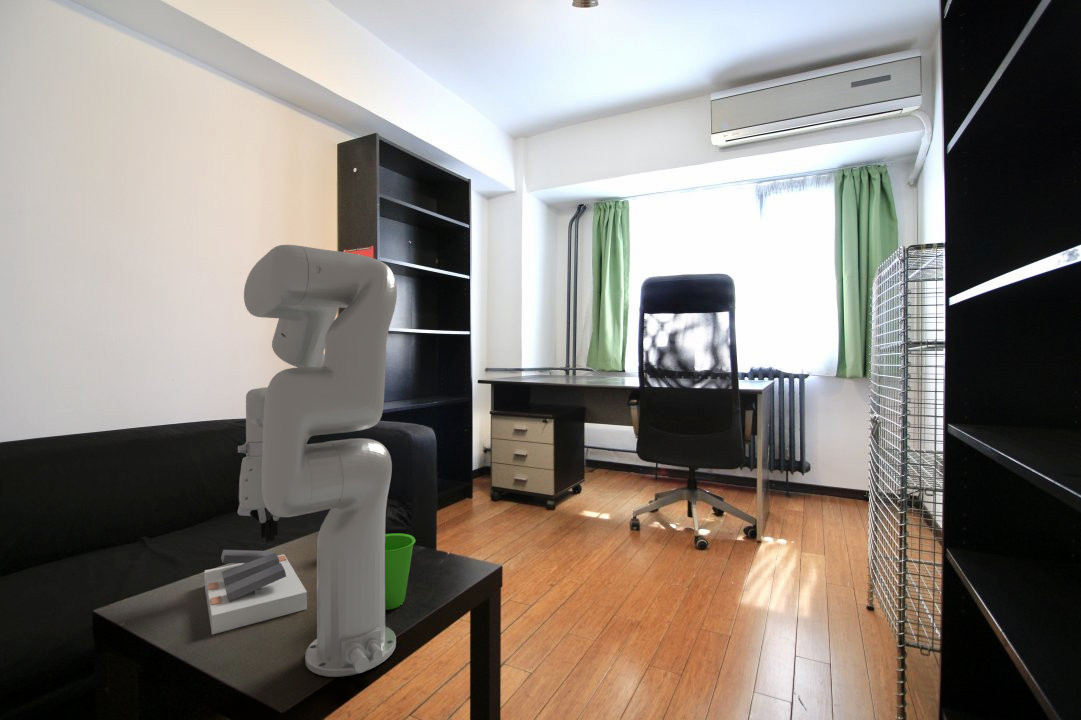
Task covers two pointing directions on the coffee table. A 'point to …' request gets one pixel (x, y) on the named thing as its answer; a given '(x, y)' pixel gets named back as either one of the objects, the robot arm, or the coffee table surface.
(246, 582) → the rocker near
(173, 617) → the coffee table surface
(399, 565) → the cup
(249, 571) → the rocker middle
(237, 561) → the block
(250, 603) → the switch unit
